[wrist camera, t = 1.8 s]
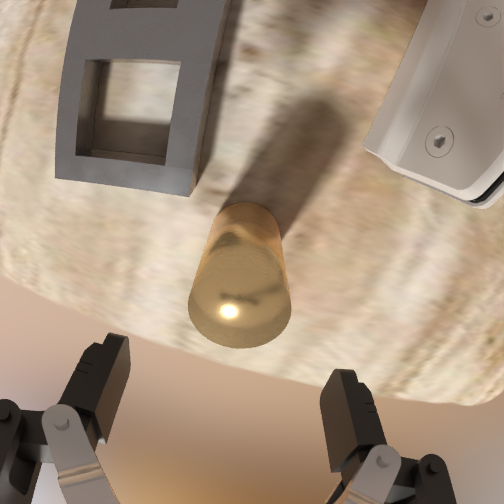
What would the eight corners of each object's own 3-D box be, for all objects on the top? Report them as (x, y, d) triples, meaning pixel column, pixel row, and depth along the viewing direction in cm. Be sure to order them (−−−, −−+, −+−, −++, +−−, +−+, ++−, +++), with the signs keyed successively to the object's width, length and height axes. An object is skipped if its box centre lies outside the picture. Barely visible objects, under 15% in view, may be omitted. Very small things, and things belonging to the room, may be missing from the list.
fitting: (286, 209, 22) (303, 276, 14) (271, 270, 25) (277, 354, 17) (216, 196, 22) (192, 257, 14) (206, 258, 24) (184, 339, 16)
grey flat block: (250, -70, 13) (250, -87, 10) (196, 186, 22) (188, 197, 19) (118, -68, 12) (106, -80, 10) (72, 169, 21) (55, 178, 19)
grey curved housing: (436, -23, 13) (548, -15, 5) (468, 14, 15) (569, 36, 8) (358, 151, 20) (469, 221, 12) (398, 174, 22) (496, 242, 15)
